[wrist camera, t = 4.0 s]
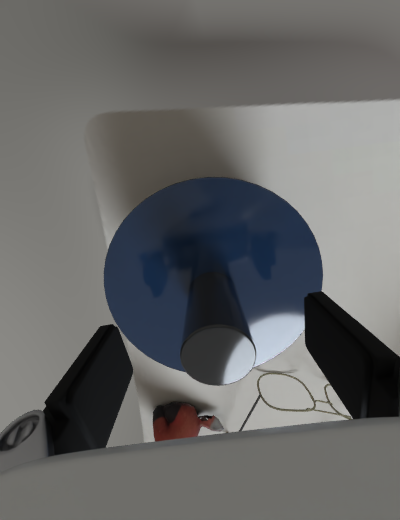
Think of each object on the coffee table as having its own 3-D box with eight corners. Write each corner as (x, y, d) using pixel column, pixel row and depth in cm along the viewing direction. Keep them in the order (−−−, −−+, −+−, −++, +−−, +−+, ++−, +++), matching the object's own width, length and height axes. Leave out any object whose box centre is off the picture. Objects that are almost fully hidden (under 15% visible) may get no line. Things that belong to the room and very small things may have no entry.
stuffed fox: (225, 427, 33) (236, 552, 22) (157, 435, 34) (134, 559, 23) (217, 394, 31) (226, 515, 19) (144, 403, 32) (112, 524, 20)
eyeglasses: (362, 387, 30) (392, 424, 25) (318, 451, 35) (337, 492, 30) (256, 366, 29) (267, 401, 24) (227, 435, 34) (231, 475, 29)
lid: (80, 202, 13) (-35, 217, 7) (313, 155, 12) (436, 121, 6) (142, 373, 18) (109, 476, 11) (314, 350, 17) (381, 449, 10)
